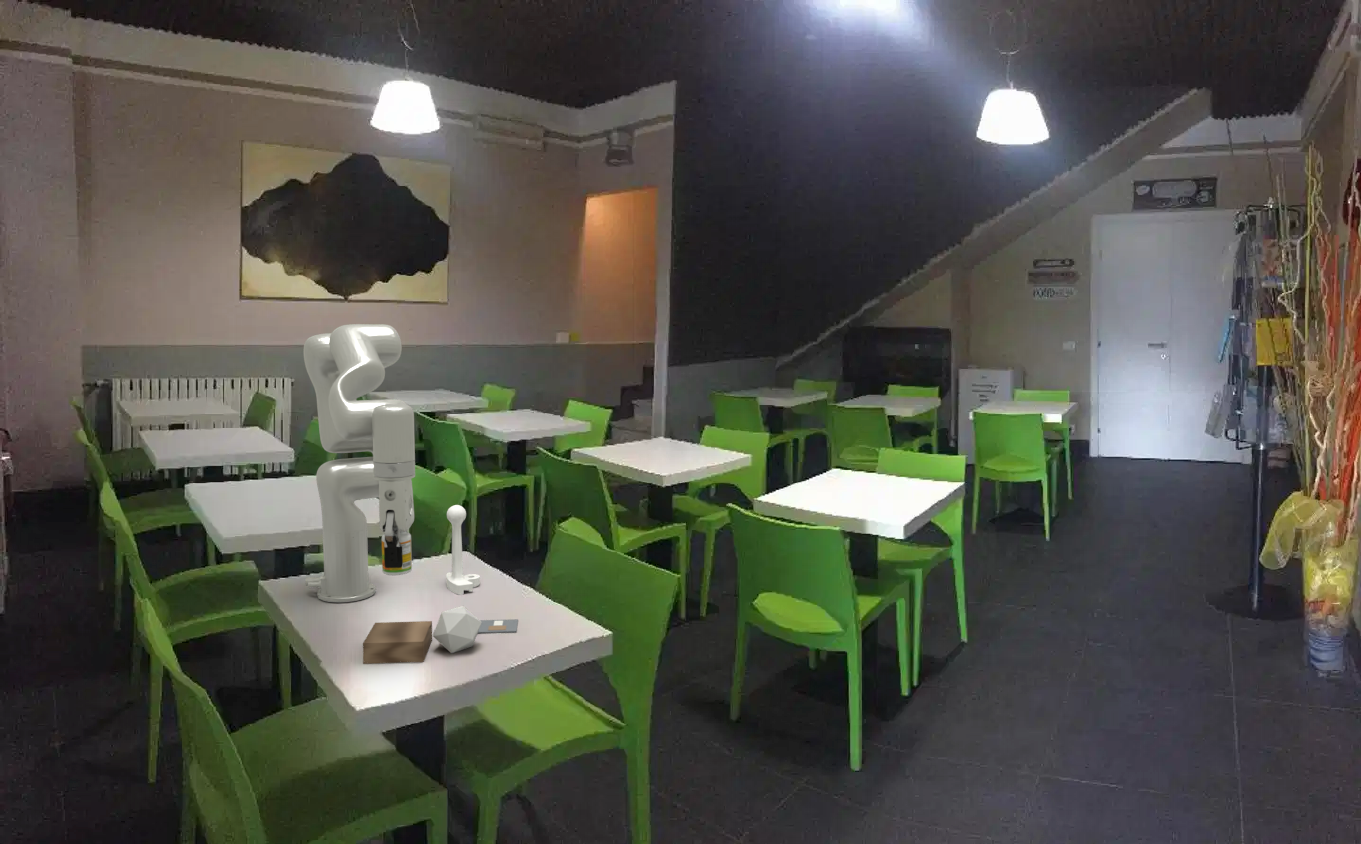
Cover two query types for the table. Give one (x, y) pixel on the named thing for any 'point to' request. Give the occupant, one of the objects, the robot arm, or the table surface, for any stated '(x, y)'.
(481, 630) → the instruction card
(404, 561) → the supplement bottle
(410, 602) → the table surface
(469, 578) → the joystick
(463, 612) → the die
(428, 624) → the base block
